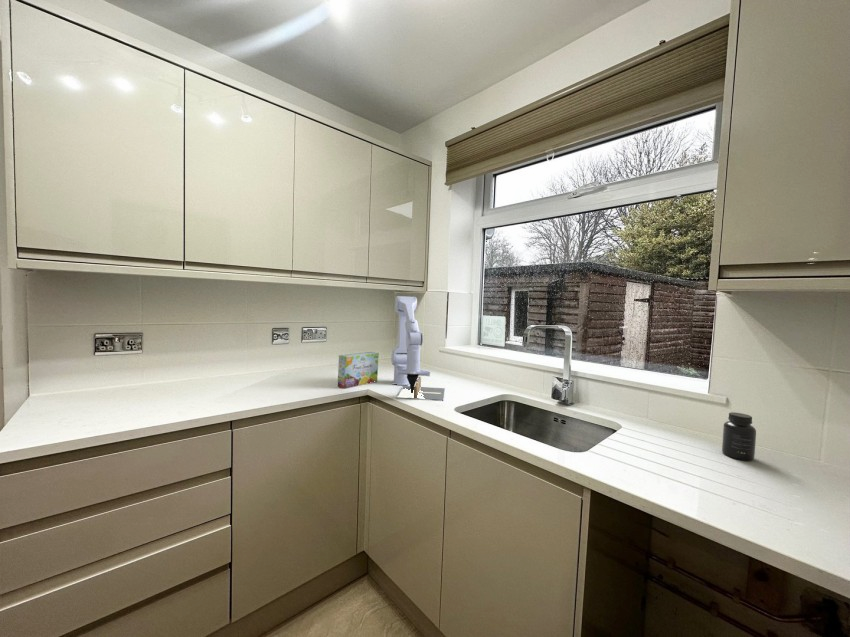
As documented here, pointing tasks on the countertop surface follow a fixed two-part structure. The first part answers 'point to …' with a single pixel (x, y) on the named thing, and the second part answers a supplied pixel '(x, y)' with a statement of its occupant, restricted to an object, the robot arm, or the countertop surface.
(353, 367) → the snack box
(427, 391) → the board
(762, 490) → the countertop surface
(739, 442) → the supplement bottle
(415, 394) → the hinged fence section
